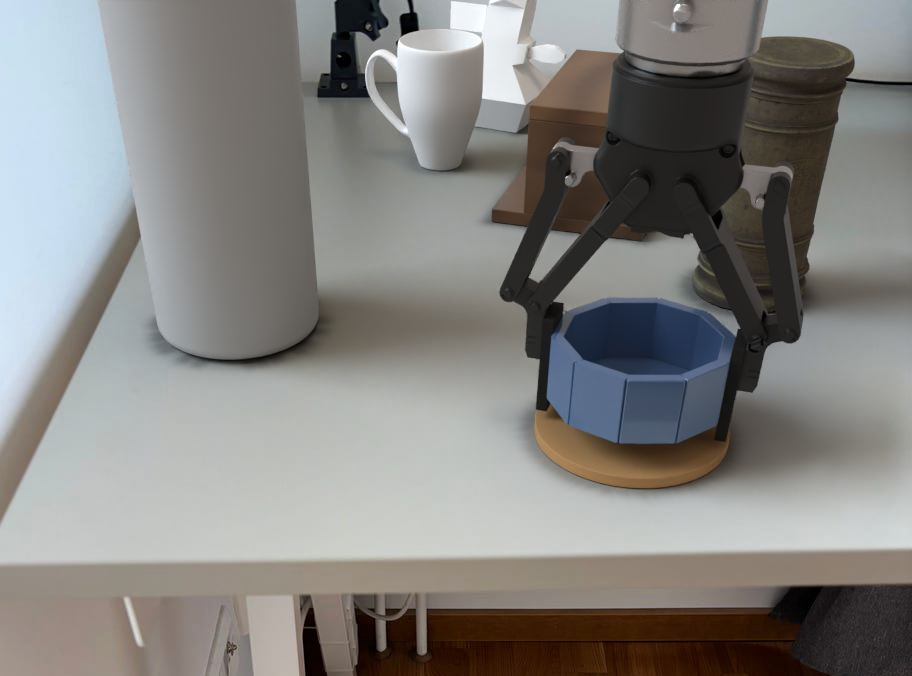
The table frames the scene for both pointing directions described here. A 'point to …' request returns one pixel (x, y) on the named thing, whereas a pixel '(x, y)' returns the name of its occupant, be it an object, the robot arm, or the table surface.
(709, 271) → the container
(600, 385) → the bowl
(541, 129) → the stand
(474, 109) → the mug
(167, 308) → the cylinder vase
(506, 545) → the table surface
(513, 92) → the white faceted sculpture
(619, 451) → the coaster
